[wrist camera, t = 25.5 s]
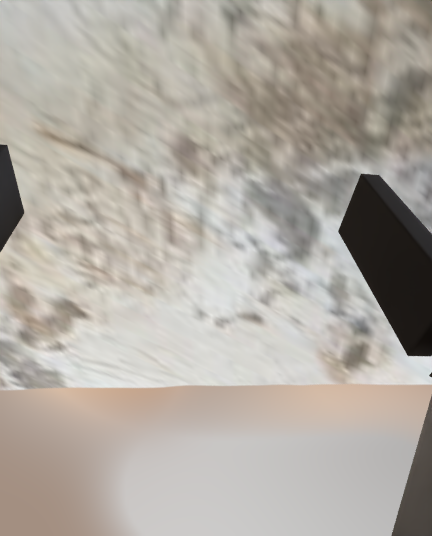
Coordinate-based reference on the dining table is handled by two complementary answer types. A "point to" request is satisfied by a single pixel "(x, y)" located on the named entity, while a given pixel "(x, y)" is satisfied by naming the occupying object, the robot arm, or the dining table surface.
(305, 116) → the dining table surface
